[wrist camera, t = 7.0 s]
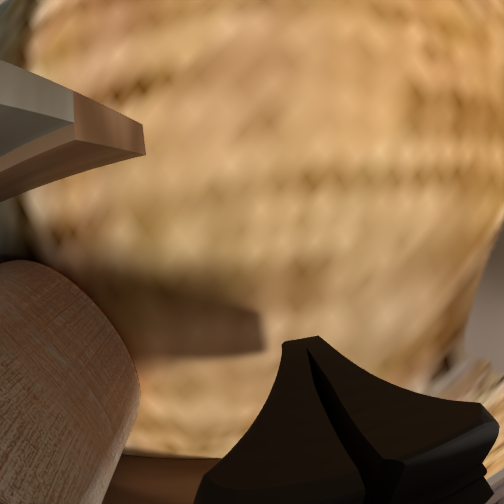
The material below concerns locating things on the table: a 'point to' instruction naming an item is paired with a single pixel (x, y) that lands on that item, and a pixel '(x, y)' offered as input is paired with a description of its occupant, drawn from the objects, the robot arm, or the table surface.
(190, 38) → the table surface
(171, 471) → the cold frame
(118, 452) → the planter
